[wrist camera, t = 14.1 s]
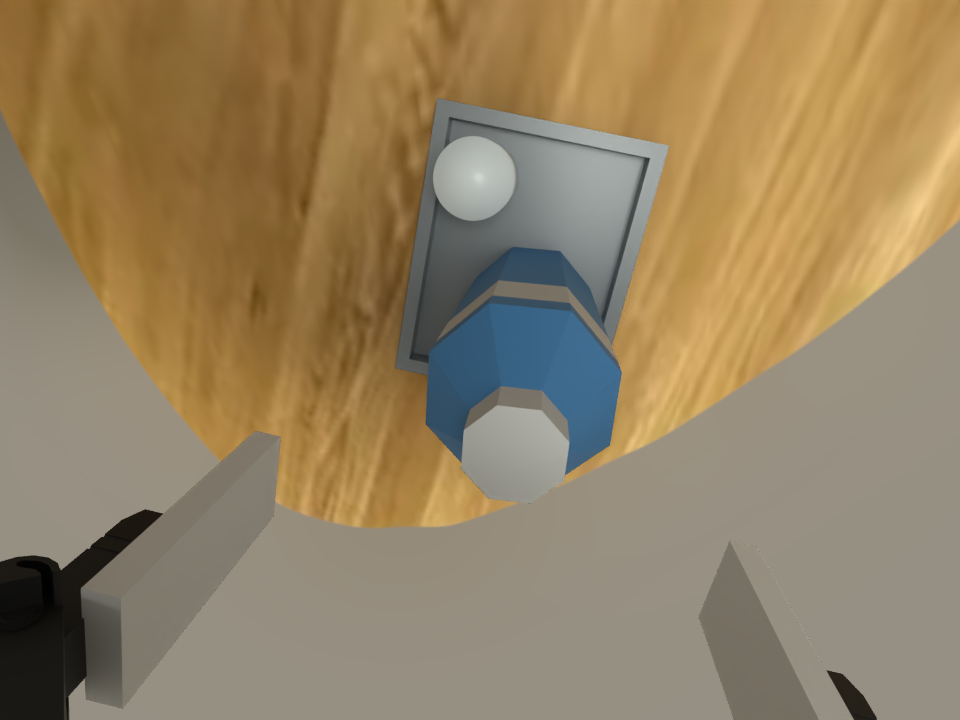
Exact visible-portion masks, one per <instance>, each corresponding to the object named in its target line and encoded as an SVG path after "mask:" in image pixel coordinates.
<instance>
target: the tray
mask: <svg viewBox="0 0 960 720" xmlns="http://www.w3.org/2000/svg"><path fill="white" fill-rule="evenodd" d="M467 136H479V137H483V138H487V139H489V140H491V141H493V142H495V143H497V144H499V145H500V146H502V147H504V148H505V149H506V150H507V151H508V152H509V153H510V154H511V156H512V157H513V159H514V161H515V163H516V165H517V169H518V185H517V189H516V191H515V194H514V196H513V197H512V199H511V200H510V201H509V202H508V203H507V204H506V205H505V206H504V207H503V208H502V209H501V210H500V211H499V212H497V213H496V214H495V215H493V216H491V217H489V218H487V219H483V220H478V221H469V220H463V219H460V218H458V217H456V216H454V215H452V214H451V213H450V212H448V211H447V210H446V209H445V208H444V207H443V206H442V204H441V203H440V201H439V200H438V198H437V195H436V193H435V189H434V184H433V172H434V167H435V164H436V161H437V159H438V157H439V155H440V154H441V152H442V151H443V150H444V149H445V148H446V147H447V146H448V145H449V144H450V143H452V142H453V141H455V140H457V139H459V138H463V137H467ZM668 149H669V146H668V145H663V144H658V143H654V142H649V141H644V140H639V139H634V138H629V137H624V136H619V135H615V134H610V133H605V132H600V131H595V130H590V129H585V128H580V127H575V126H571V125H566V124H561V123H556V122H551V121H546V120H541V119H536V118H532V117H527V116H522V115H517V114H512V113H507V112H502V111H497V110H493V109H488V108H483V107H478V106H473V105H468V104H463V103H458V102H453V101H449V100H444V99H439V98H437V104H436V110H435V117H434V123H433V130H432V136H431V142H430V149H429V155H428V161H427V168H426V174H425V181H424V187H423V193H422V200H421V206H420V213H419V219H418V225H417V232H416V238H415V244H414V251H413V257H412V264H411V270H410V276H409V283H408V289H407V296H406V302H405V308H404V315H403V321H402V328H401V334H400V340H399V347H398V353H397V359H396V366H395V368H397V369H401V370H406V371H410V372H415V373H419V374H424V375H428V367H429V352H430V350H431V349H432V347H433V345H434V344H435V342H436V341H437V339H438V338H439V336H440V334H441V333H442V331H443V330H444V328H445V327H446V325H447V323H448V322H449V320H450V319H451V317H452V316H453V314H454V312H455V311H456V309H457V308H458V306H459V305H460V303H461V301H462V300H463V298H464V297H465V295H466V294H467V292H468V290H469V289H470V287H471V286H472V284H473V283H474V281H475V279H476V278H477V276H479V275H480V274H481V273H482V272H483V271H485V270H486V269H487V268H488V267H489V266H490V265H492V264H493V263H494V262H495V261H496V260H498V259H499V258H500V257H501V256H502V255H504V254H505V253H506V252H507V251H508V250H509V249H511V248H512V247H522V248H533V249H544V250H555V251H561V253H562V254H563V255H564V256H565V258H566V259H567V260H568V261H569V263H570V264H571V265H572V266H573V267H574V269H575V270H576V271H577V272H578V274H579V275H580V276H581V277H582V279H583V280H584V281H585V282H586V284H587V285H588V286H589V287H590V290H591V293H592V295H593V298H594V301H595V303H596V306H597V309H598V311H599V314H600V316H601V319H602V322H603V324H604V327H605V330H606V332H607V335H608V338H609V340H610V343H611V346H612V343H613V340H614V336H615V333H616V329H617V326H618V322H619V319H620V315H621V312H622V309H623V305H624V302H625V298H626V295H627V291H628V288H629V284H630V281H631V277H632V274H633V270H634V267H635V263H636V260H637V256H638V253H639V249H640V246H641V242H642V239H643V235H644V232H645V229H646V225H647V222H648V218H649V215H650V211H651V208H652V204H653V201H654V197H655V194H656V190H657V187H658V183H659V180H660V176H661V173H662V169H663V166H664V162H665V159H666V155H667V152H668Z"/></svg>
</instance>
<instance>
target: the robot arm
mask: <svg viewBox="0 0 960 720" xmlns="http://www.w3.org/2000/svg"><path fill="white" fill-rule="evenodd" d="M280 439H281V437H280V436H275V435H271V434H267V433H262V432H258V431H255V432H254V433H252V434H251V435H250V436H249V437H248V438H247V439H246V440H245V441H244V442H242V443H241V444H240V445H239V446H238V447H237V448H236V449H235V450H234V451H232V452H231V453H230V454H229V455H228V456H227V457H226V458H225V459H224V460H223V461H221V462H220V463H219V464H218V465H217V466H216V467H215V468H214V469H213V470H211V471H210V472H209V473H208V474H207V475H206V476H205V477H204V478H203V479H202V480H201V481H199V482H198V483H197V484H196V485H195V486H194V487H193V488H192V489H190V490H189V491H188V492H187V493H186V494H185V495H184V496H183V497H182V498H181V499H179V500H178V501H177V502H176V503H175V504H174V505H173V506H172V507H170V508H169V509H168V510H167V511H166V512H165V513H164V514H162V513H158V512H154V511H150V510H146V509H145V510H143V511H141V512H138V513H136V514H134V515H132V516H130V517H128V518H125V519H123V520H121V521H120V522H119V523H118V524H116V525H115V526H114V527H113V528H112V529H110V530H109V531H108V532H107V533H106V534H105V536H104V537H101V538H100V539H98V540H97V541H96V542H95V543H94V544H92V545H91V548H90V549H86V550H85V551H84V552H83V553H82V554H80V555H79V556H78V557H77V558H76V559H74V560H73V561H72V562H71V563H69V564H68V565H67V566H66V567H65V568H63V569H62V570H60V568H59V565H58V563H57V562H55V561H53V560H51V559H50V558H47V557H41V556H23V557H16V558H12V559H8V560H5V561H1V562H0V720H69V697H68V696H69V695H70V694H71V693H72V692H73V690H74V689H75V688H76V687H77V686H78V685H79V684H80V683H81V682H82V681H83V679H84V678H85V692H86V700H90V701H94V702H98V703H102V704H106V705H110V706H114V707H118V708H121V709H123V708H124V707H125V705H126V704H127V703H128V702H129V700H130V699H131V698H132V696H133V695H134V694H135V693H136V691H137V690H138V688H139V687H140V686H141V685H142V684H143V682H144V681H145V680H146V679H147V677H148V676H149V675H150V673H151V672H152V671H153V670H154V668H155V667H156V666H157V664H158V663H159V662H160V661H161V659H162V658H163V657H164V655H165V654H166V653H167V652H168V650H169V649H170V648H171V646H172V645H173V644H174V643H175V641H176V640H177V639H178V637H179V636H180V635H181V634H182V633H183V631H184V630H185V629H186V627H187V626H188V625H189V624H190V622H191V621H192V620H193V618H194V617H195V616H196V614H197V613H198V612H199V611H200V610H201V608H202V607H203V606H204V604H205V603H206V602H207V601H208V599H209V598H210V597H211V595H212V594H213V593H214V592H215V590H216V589H217V588H218V586H219V585H220V584H221V582H222V581H223V580H224V579H225V578H226V576H227V575H228V574H229V572H230V571H231V570H232V569H233V567H234V566H235V565H236V564H237V562H238V561H239V560H240V558H241V557H242V556H243V554H244V553H245V552H246V551H247V549H248V548H249V547H250V545H251V544H252V543H253V542H254V541H255V539H256V538H257V537H258V535H259V534H260V533H261V532H262V530H263V529H264V528H265V526H266V525H267V524H268V523H269V521H270V520H271V519H272V517H273V516H274V506H275V495H276V484H277V472H278V461H279V450H280ZM699 619H700V622H701V625H702V628H703V631H704V634H705V637H706V640H707V643H708V646H709V648H710V651H711V654H712V657H713V660H714V663H715V666H716V669H717V672H718V675H719V678H720V681H721V683H722V686H723V689H724V692H725V695H726V698H727V701H728V704H729V707H730V709H731V713H732V715H733V719H734V720H877V718H876V716H875V714H874V713H873V711H872V709H871V708H870V706H869V704H868V703H867V701H866V699H865V698H864V696H863V695H862V694H861V693H860V692H859V691H858V690H857V689H856V688H855V687H854V685H852V684H851V682H850V681H849V680H848V679H846V677H845V676H844V675H843V674H840V673H836V672H832V671H827V670H826V669H825V667H824V666H823V664H822V662H821V660H820V658H819V657H818V655H817V653H816V651H815V650H814V648H813V646H812V644H811V642H810V641H809V639H808V637H807V635H806V634H805V632H804V630H803V628H802V626H801V625H800V623H799V621H798V619H797V618H796V616H795V614H794V612H793V610H792V609H791V607H790V605H789V603H788V601H787V600H786V598H785V596H784V594H783V593H782V591H781V589H780V587H779V585H778V584H777V582H776V580H775V578H774V576H773V575H772V573H771V571H770V569H769V568H768V566H767V564H766V562H765V560H764V559H763V557H762V555H761V553H760V551H759V550H758V548H757V547H756V546H752V545H747V544H743V543H738V542H734V541H729V544H728V546H727V549H726V551H725V553H724V556H723V558H722V561H721V563H720V566H719V568H718V570H717V573H716V575H715V578H714V580H713V583H712V585H711V588H710V590H709V593H708V595H707V598H706V600H705V602H704V605H703V607H702V610H701V612H700V614H699Z"/></svg>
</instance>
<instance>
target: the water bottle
mask: <svg viewBox="0 0 960 720" xmlns="http://www.w3.org/2000/svg"><path fill="white" fill-rule="evenodd" d="M621 374H622V372H621V369H620V367H619V364H618V361H617V359H616V356H615V353H614V351H613V348H612V346H611V343H610V340H609V338H608V335H607V332H606V330H605V327H604V324H603V322H602V319H601V316H600V314H599V311H598V309H597V306H596V303H595V301H594V298H593V295H592V293H591V290H590V287H589V286H588V285H587V284H586V282H585V281H584V280H583V279H582V277H581V276H580V275H579V274H578V272H577V271H576V270H575V269H574V267H573V266H572V265H571V264H570V263H569V261H568V260H567V259H566V258H565V256H564V255H563V254H562V253H561V251H555V250H544V249H533V248H522V247H512V248H511V249H509V250H508V251H507V252H506V253H505V254H504V255H502V256H501V257H500V258H499V259H498V260H496V261H495V262H494V263H493V264H492V265H490V266H489V267H488V268H487V269H486V270H485V271H483V272H482V273H481V274H480V275H479V276H477V278H476V279H475V281H474V283H473V284H472V286H471V287H470V289H469V290H468V292H467V294H466V295H465V297H464V298H463V300H462V301H461V303H460V305H459V306H458V308H457V309H456V311H455V312H454V314H453V316H452V317H451V319H450V320H449V322H448V323H447V325H446V327H445V328H444V330H443V331H442V333H441V334H440V336H439V338H438V339H437V341H436V342H435V344H434V345H433V347H432V349H431V350H430V352H429V367H428V387H427V408H426V425H427V426H428V427H429V428H430V429H431V430H432V431H433V432H434V433H435V434H436V436H437V437H438V438H439V439H440V440H441V441H442V442H443V443H444V444H445V445H446V446H447V448H448V449H449V450H450V451H451V452H452V453H453V454H454V455H455V456H456V457H457V458H458V460H459V461H460V462H461V469H462V470H463V472H464V473H465V474H466V475H467V476H468V477H469V478H470V479H471V480H472V481H473V482H474V483H475V485H476V486H477V487H478V488H479V489H480V490H481V491H482V492H483V493H484V494H485V495H486V496H487V498H488V499H496V500H504V501H512V502H520V503H528V504H531V503H532V502H534V501H535V500H537V499H538V498H540V497H541V496H543V495H544V494H546V493H547V492H549V491H550V490H552V489H553V488H555V487H556V486H558V485H559V484H561V483H562V482H564V478H565V475H566V474H568V473H569V472H571V471H572V470H574V469H575V468H577V467H578V466H580V465H581V464H583V463H584V462H585V461H587V460H588V459H590V458H591V457H593V456H594V455H596V454H597V453H599V452H600V451H602V450H603V449H605V448H606V447H608V446H609V445H610V441H611V435H612V429H613V423H614V416H615V410H616V404H617V398H618V392H619V386H620V380H621Z"/></svg>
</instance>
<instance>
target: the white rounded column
mask: <svg viewBox="0 0 960 720" xmlns="http://www.w3.org/2000/svg"><path fill="white" fill-rule="evenodd" d="M433 184H434V189H435V193H436V195H437V198H438V200H439V201H440V203H441V204H442V206H443V207H444V208H445V209H446V210H447V211H448V212H450V213H451V214H452V215H454V216H456V217H458V218H460V219H463V220H469V221H478V220H483V219H487V218H489V217H491V216H493V215H495V214H496V213H497V212H499V211H500V210H501V209H502V208H503V207H504V206H505V205H506V204H507V203H508V202H509V201H510V200H511V199H512V197H513V196H514V194H515V191H516V189H517V185H518V169H517V165H516V163H515V161H514V159H513V157H512V156H511V154H510V153H509V152H508V151H507V150H506V149H505V148H504V147H502V146H500V145H499V144H497V143H495V142H493V141H491V140H489V139H487V138H483V137H479V136H467V137H463V138H459V139H457V140H455V141H453V142H452V143H450V144H449V145H448V146H447V147H446V148H445V149H444V150H443V151H442V152H441V154H440V155H439V157H438V159H437V161H436V164H435V167H434V172H433Z"/></svg>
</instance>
